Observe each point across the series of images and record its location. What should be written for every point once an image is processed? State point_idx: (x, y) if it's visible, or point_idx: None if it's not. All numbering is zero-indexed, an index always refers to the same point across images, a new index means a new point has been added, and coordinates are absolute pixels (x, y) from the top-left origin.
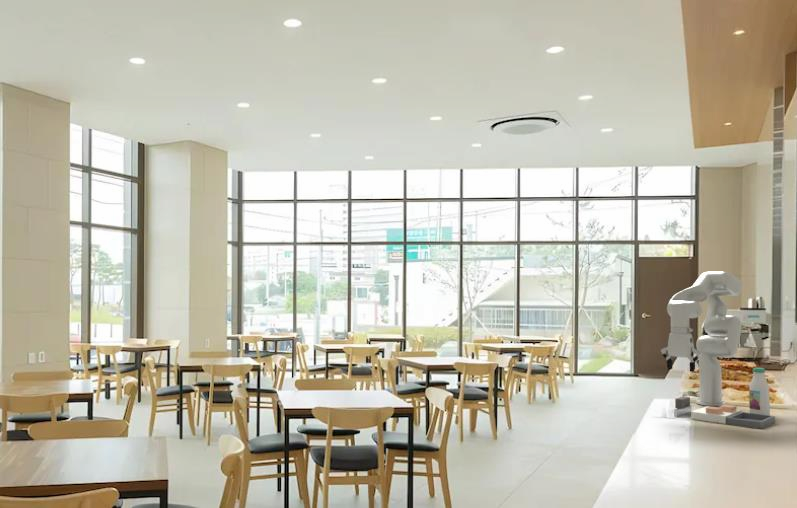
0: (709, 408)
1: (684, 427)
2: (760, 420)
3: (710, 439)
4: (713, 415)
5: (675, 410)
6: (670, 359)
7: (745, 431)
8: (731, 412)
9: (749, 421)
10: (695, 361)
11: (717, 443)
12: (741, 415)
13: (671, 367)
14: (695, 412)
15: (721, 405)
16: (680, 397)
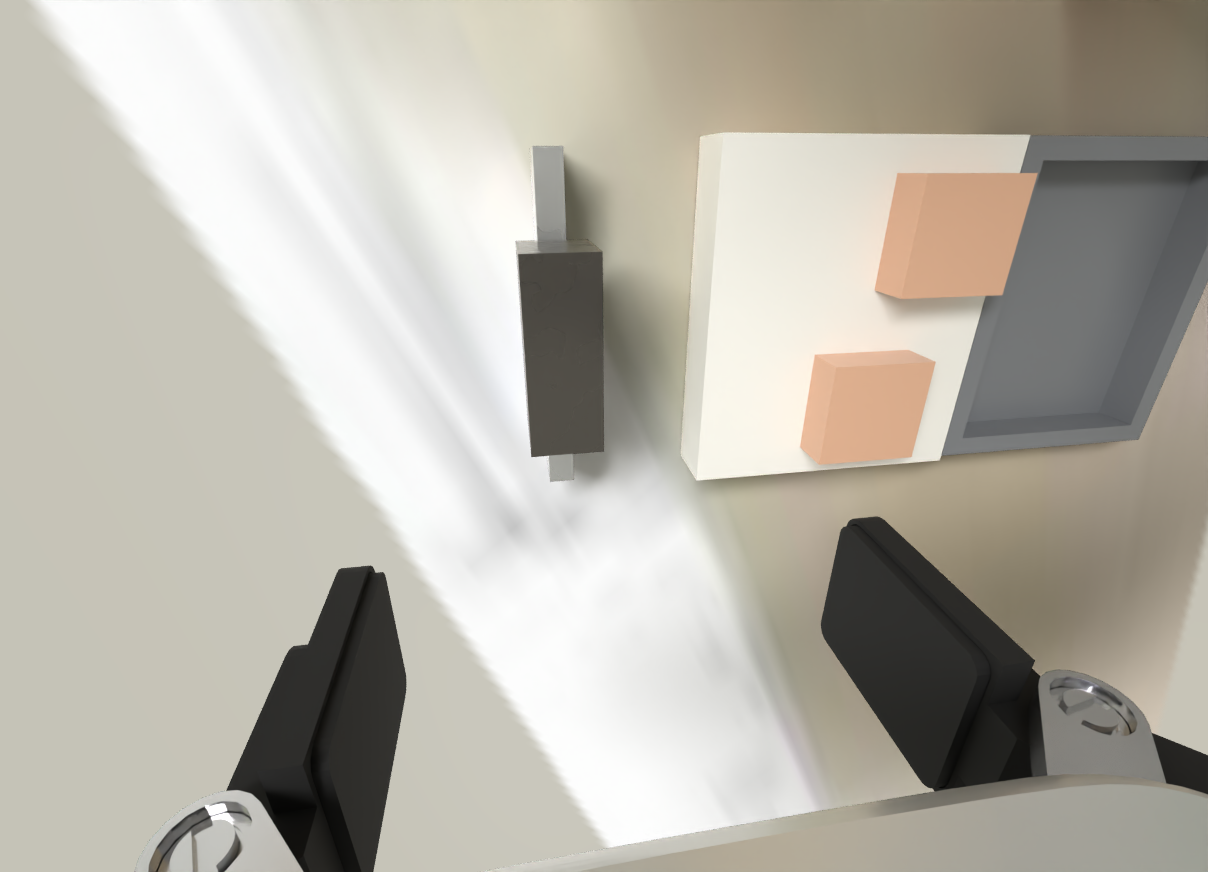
0: (847, 461)
1: (731, 669)
2: (1125, 195)
3: (890, 759)
4: (856, 463)
5: (562, 477)
6: (320, 861)
7: (1018, 538)
8: None
9: (1072, 443)
10: (1085, 709)
11: (923, 784)
12: None
13: (386, 633)
14: (729, 477)
15: (912, 252)
16: (532, 350)
